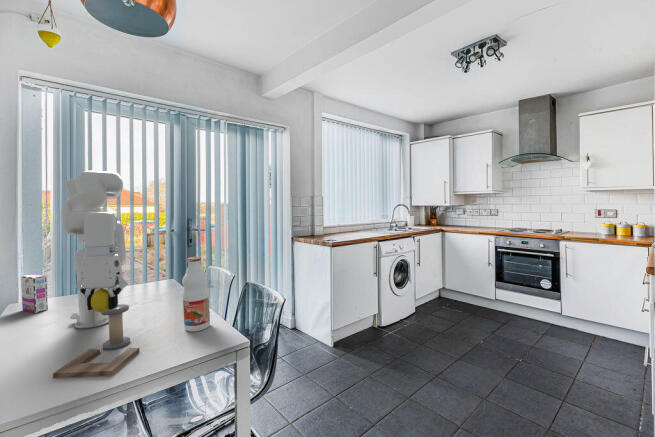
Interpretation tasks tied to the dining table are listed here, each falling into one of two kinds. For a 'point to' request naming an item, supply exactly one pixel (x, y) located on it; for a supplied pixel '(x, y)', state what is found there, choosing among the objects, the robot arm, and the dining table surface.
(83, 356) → the notched board
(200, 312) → the fruit juice
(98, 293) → the lemon
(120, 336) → the spool
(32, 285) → the candy bar box
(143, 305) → the dining table surface
